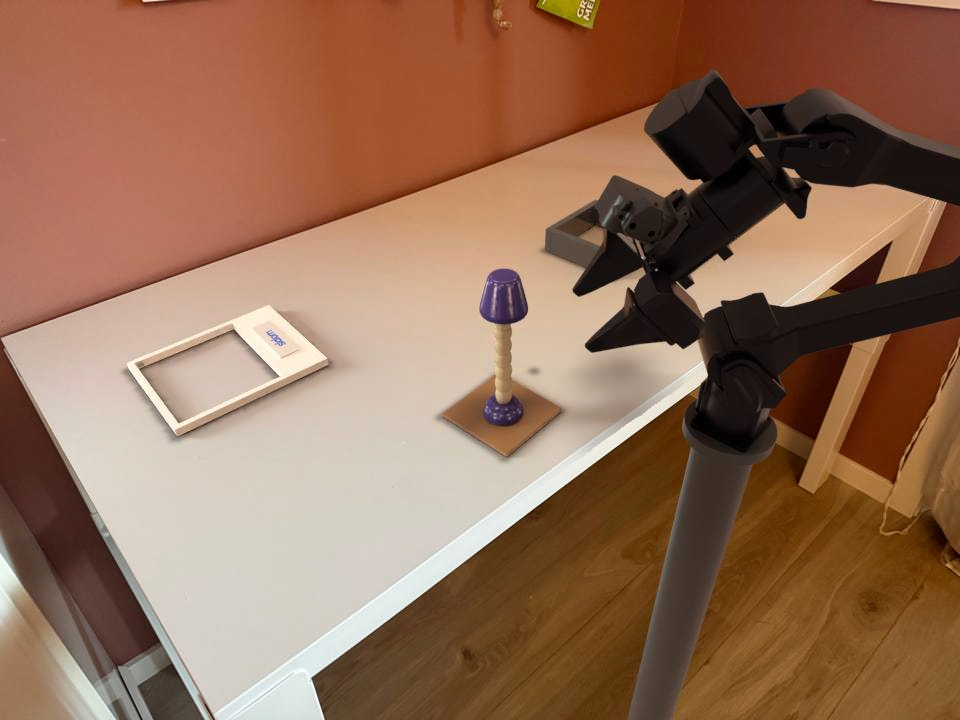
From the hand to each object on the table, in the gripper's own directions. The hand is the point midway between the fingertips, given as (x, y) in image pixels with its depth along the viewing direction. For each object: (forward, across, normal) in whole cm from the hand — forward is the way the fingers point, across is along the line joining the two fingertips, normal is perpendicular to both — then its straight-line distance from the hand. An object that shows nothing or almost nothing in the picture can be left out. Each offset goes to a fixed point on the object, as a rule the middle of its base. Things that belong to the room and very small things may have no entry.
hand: (581, 319), depth 69 cm
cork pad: (+14, 0, +3) cm, 14 cm away
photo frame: (+36, -9, -19) cm, 42 cm away
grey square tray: (+2, -34, +14) cm, 37 cm away
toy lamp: (+13, 0, +3) cm, 14 cm away
